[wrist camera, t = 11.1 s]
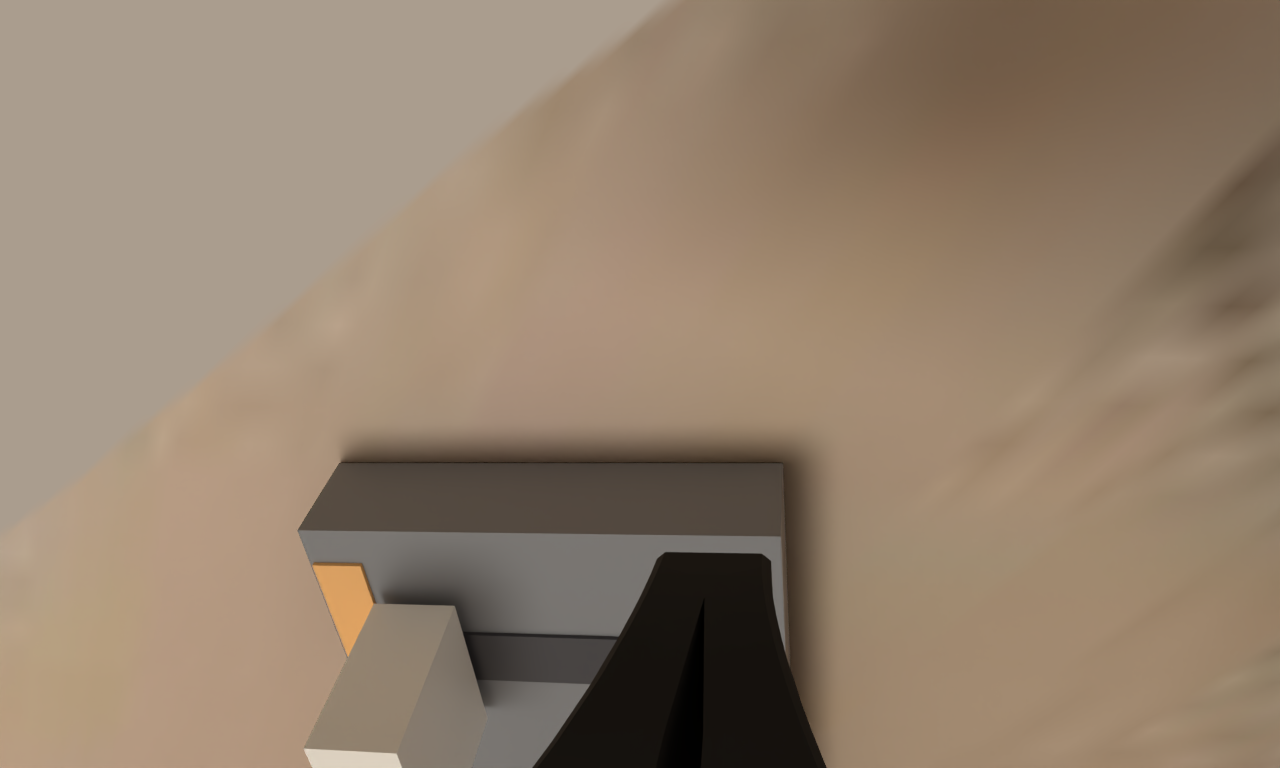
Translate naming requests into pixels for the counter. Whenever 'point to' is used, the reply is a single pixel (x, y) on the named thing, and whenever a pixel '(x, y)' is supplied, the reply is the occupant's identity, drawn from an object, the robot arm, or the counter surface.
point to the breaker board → (532, 564)
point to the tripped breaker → (402, 696)
